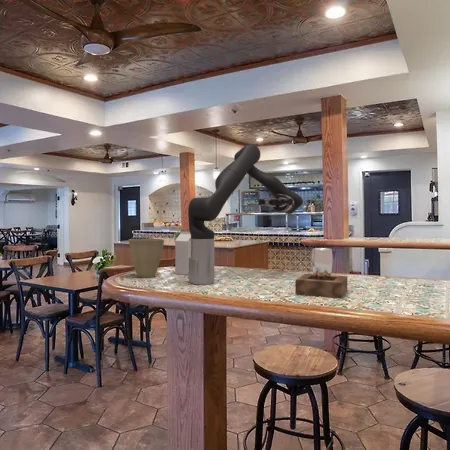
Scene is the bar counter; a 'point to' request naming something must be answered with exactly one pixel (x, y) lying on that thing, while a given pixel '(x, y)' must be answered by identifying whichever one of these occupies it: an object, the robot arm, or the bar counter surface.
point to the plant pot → (146, 256)
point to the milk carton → (182, 253)
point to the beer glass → (322, 263)
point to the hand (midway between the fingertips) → (271, 201)
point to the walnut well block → (321, 286)
